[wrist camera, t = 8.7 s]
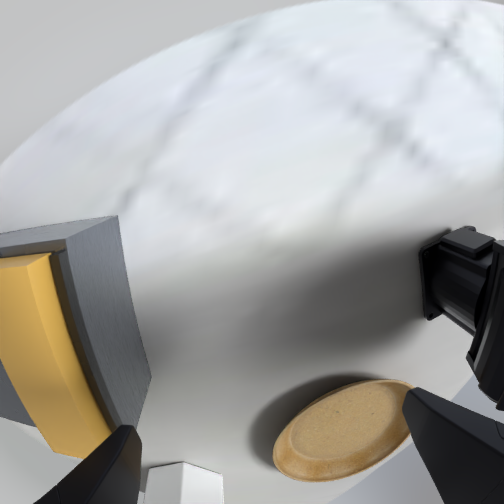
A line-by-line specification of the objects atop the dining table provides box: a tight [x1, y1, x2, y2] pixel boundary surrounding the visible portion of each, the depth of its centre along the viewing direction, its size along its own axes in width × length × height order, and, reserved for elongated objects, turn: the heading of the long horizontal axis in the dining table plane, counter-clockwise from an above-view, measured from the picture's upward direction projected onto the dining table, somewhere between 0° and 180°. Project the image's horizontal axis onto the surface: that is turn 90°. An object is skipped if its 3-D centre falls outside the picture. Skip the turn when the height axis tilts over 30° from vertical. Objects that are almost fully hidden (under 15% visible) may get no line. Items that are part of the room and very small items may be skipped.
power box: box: [0, 215, 151, 433], centre depth 15 cm, size 13×12×8 cm
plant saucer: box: [272, 379, 415, 482], centre depth 23 cm, size 15×15×3 cm
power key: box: [0, 253, 112, 459], centre depth 11 cm, size 4×11×2 cm, turn 4°
